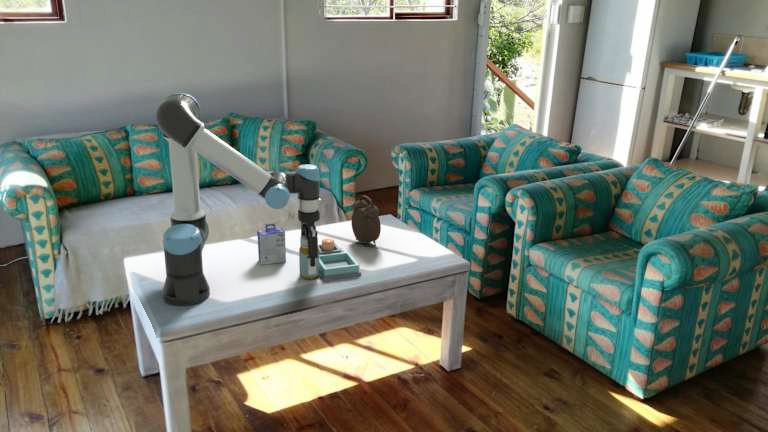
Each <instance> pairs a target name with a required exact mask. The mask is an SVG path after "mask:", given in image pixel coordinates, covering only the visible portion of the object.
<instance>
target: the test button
mask: <svg viewBox="0 0 768 432" xmlns="http://www.w3.org/2000/svg"><path fill="white" fill-rule="evenodd" d="M334 243H335V239H332V238H324V239H321V244H322V251H331V250H334Z"/></svg>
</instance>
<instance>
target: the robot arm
mask: <svg viewBox="0 0 768 432" xmlns="http://www.w3.org/2000/svg"><path fill="white" fill-rule="evenodd" d="M201 114H202V111H201V106H200V104H199V102H198V101H197V99H196V98H195V97H194V96H193V95H191V94H188V93H184V92H177V93H173V94H171V95H169V96H167V97H166V98H165V99H164V101H163V102H161V103H159V105H158V106H157V109H156V111H155V122H156V125H157V127H158V129H159V130H160V131H161V132H162V137H163V139H164V140H166V141H167V142H168V149H169V150H168V151H169V160H170V162H169V163H170V173H171V183H172V184H171V185H172V186H171V187H172V197H173V208H174V210H173V211H172V212H171V213H170V214H169V215H170V227H168V228H167V229H166V230H165V231H164V233H163V238H162V245H163V251H164V252H163V253H164V263H165V274H166V277H165V280H164V283H163V284H164V285H163V289H162V292H161V293H162V299H163V301H164V302H165V303H167V304H169V305H173V306H180V307H181V306H192V305H196V304H199V303H202V302H203V301H205V300H207V299H209V297H210V294H211V289H210V286H209V283H208V280H207V278H206V276H205V274H204V269H203V268H204V267H203V254H202V253H203V249H204V247H205V244H206V241H207V240H208V238H209V235H210V234H209V232H210V229H209V228H210V227H209V223H208V222H207V215H206V211H205V210H204V209H202V207H201V198H200V197H201V196H200V194H201V193H200V181H199V169H198V155H200V156H201V157H203V158H204V159H206V160H208V161H209V162H210V163H211V164H213V165H215V166H216V167H218V169H221V170H222V171H223V172H224V173H226V174H227V175H229V176H231V177H232V178H233V179H235V180H236V181H238V182H239V183H241V184H243V185H244V186H245V187H246V188H248V189H250V190H252V191H253V192H254V193H255V194H257V195H259V197H262V198H263V199H264V200H265V202H266V205H268V207H270V208H271V209H274V210H280V209H283V208H285V207H286V206H287V205H288V203H289V200H290V198H291V194H297V209H298V210H297V220H298V221H299V222H300V225H301V226H300V228H301V230H300V237H301V236H302V235H304V236H306V239H307V240H308V252H309V257H307V258H308V274H309V275H311V274H316V258H318V246H317V237H318V233H319V232H318V230H317V227H316V225H315V223H316V222H319V221H320V219H321V217H320V216H321V215H320V214H321V213H320V212H321V210H320V203H321V202H322V199H321V198H320V192H321V191H320V189H321V187H320V183H321V178H320V169H319V167H318V165H315V164H307V163H306V164H300V165H298V166H297V169H296V170H295V171H274V170H270V171H266V170H265V169H263V168H262V167H260V166H259V164H256V163H255V162H254V161H252V160H251V159H249V158H247V157H246V156H245V155H243V154H242V153H240V152H239V151H238V150H236V149H235V148H234V147H232V146H230V144H228V143H226V142H225V141H224V140H222V139H220V137H218V136H217V135H215V134H214V133H212V132H211V131H210V130H208V129H206V127H205V123H204V122H203V121H201V120H200V118H201ZM197 154H198V155H197Z"/></svg>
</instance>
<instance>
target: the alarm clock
mask: <svg viewBox="0 0 768 432" xmlns="http://www.w3.org/2000/svg"><path fill="white" fill-rule="evenodd" d="M363 198H365V199H366V200H367V201H368V202H369V204H368V203H367V201H366V200H363ZM379 213H380V212H379V208H378V207H377V206H376V205H374V203H373V200H372V199H371V198H370V197H369V196H367V195H364V194H363V195H361V196H360V197H357V201H356V200H355V202H354V203H353V212H352V214H351V229H352V232H353V235H354V237H355V240H356V241H357V242H359V243H361V244H364V245H365V247H368V243H371V242H372V243H373V244H374V247H376V246H377V245H376V241H377V240H378V239H379V237H380V236H381V230H382V227H381V220H380V217H379Z"/></svg>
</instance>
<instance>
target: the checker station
mask: <svg viewBox="0 0 768 432" xmlns="http://www.w3.org/2000/svg"><path fill="white" fill-rule="evenodd" d="M318 248H319V276H320V277H321V278H322V280H323V281H328V280H336V279H343V278H350V277H358V276H359V277H360V276H362V272H361V270H360V264H359V263H358V262H357V260H356V259H355V258H354V257H353V256H352V254H351V253H350V252H349V251H345V250H344V248H342V247H339V246H338V245H337V243H336V242H334V250H331V251H322V243H320V244H318Z"/></svg>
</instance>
